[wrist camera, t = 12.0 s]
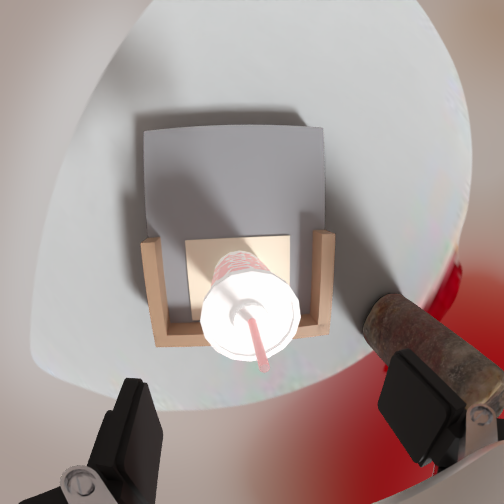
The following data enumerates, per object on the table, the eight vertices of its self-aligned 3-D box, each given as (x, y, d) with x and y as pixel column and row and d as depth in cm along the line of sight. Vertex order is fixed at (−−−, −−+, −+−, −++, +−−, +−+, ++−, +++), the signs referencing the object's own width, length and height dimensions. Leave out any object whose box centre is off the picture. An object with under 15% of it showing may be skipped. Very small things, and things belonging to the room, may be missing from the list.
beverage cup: (274, 241, 25) (338, 302, 12) (272, 306, 26) (320, 407, 13) (204, 242, 24) (190, 308, 11) (206, 307, 26) (200, 417, 12)
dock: (151, 136, 25) (136, 125, 19) (312, 133, 26) (333, 122, 21) (165, 320, 29) (156, 347, 24) (311, 311, 31) (328, 334, 25)
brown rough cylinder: (384, 351, 34) (474, 446, 14) (347, 335, 32) (443, 450, 13) (415, 303, 33) (524, 379, 13) (380, 281, 31) (508, 366, 12)
